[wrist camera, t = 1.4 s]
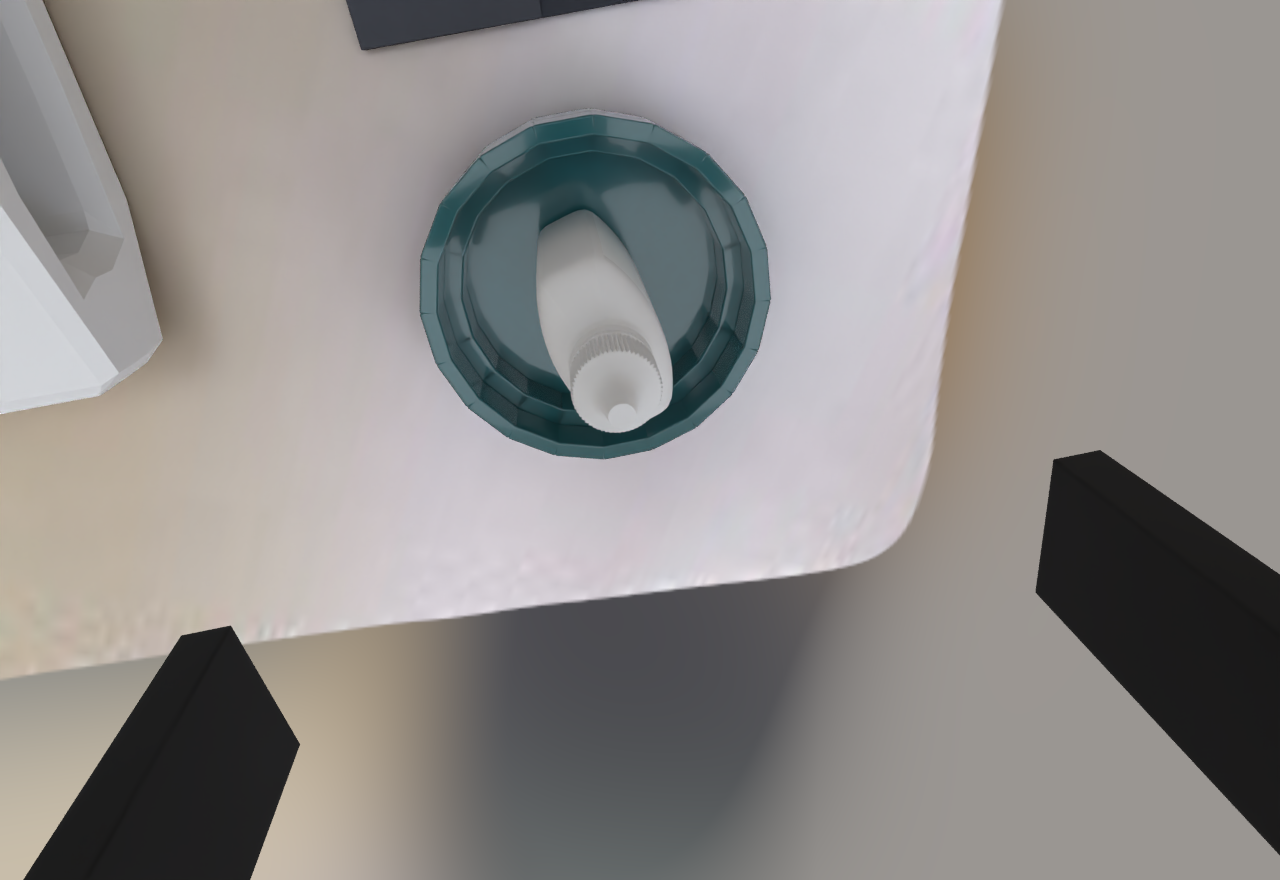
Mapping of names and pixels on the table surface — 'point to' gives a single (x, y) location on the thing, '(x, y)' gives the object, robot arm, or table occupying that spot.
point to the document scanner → (61, 233)
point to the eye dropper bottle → (600, 325)
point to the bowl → (656, 241)
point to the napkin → (449, 16)
